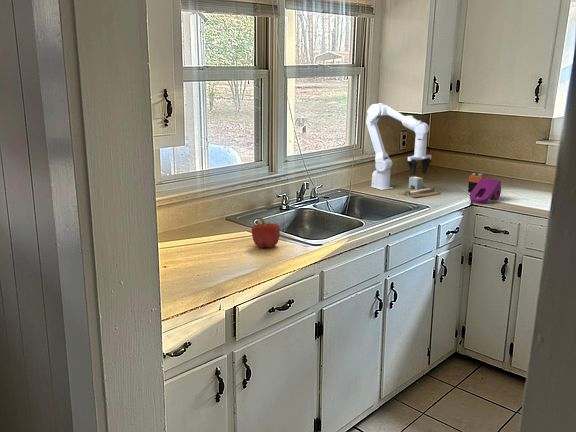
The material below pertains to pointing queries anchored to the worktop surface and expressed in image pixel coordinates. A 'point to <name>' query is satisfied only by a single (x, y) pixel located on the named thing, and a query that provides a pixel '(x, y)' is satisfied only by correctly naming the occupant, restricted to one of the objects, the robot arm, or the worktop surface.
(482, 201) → the mounting bracket
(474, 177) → the battery
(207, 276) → the worktop surface
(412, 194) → the rail mount
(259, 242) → the vegetable
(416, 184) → the block
